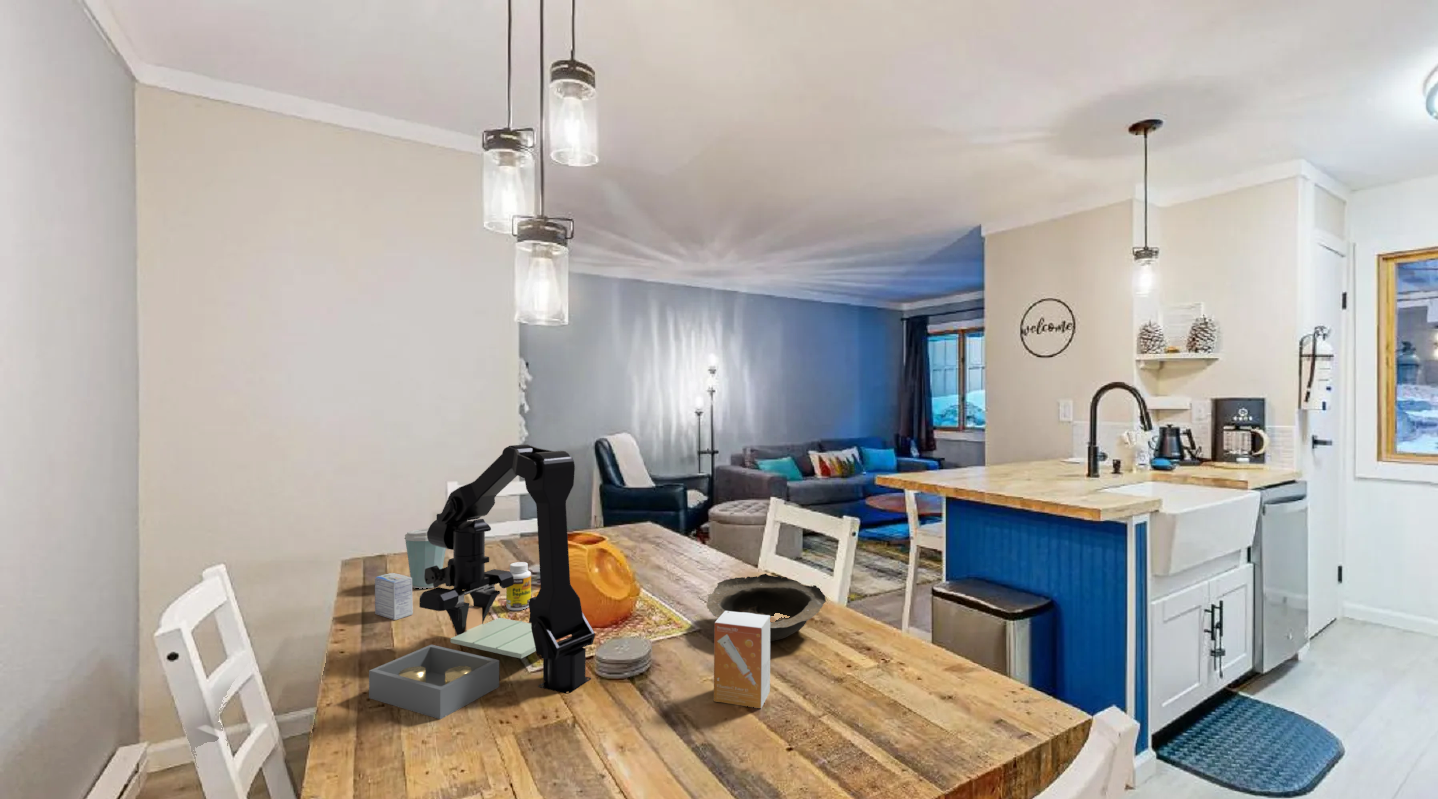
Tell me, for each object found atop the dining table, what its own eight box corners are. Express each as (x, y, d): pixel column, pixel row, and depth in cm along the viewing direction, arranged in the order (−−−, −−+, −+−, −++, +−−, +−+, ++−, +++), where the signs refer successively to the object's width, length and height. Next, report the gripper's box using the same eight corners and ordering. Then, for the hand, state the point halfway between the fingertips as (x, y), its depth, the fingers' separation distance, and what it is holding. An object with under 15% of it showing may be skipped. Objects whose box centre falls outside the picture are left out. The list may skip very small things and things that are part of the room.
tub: (499, 690, 106) (499, 660, 106) (440, 723, 95) (440, 689, 95) (431, 672, 113) (431, 644, 113) (369, 701, 102) (369, 670, 102)
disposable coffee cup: (394, 590, 161) (394, 531, 161) (421, 579, 171) (421, 524, 171) (432, 593, 159) (432, 533, 159) (457, 581, 169) (457, 525, 170)
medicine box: (413, 615, 143) (413, 577, 143) (393, 621, 139) (394, 581, 139) (393, 609, 147) (393, 572, 147) (374, 614, 143) (374, 576, 143)
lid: (566, 645, 121) (566, 613, 121) (521, 670, 110) (521, 635, 110) (486, 628, 130) (486, 599, 130) (437, 650, 119) (437, 618, 119)
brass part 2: (476, 689, 105) (476, 668, 105) (457, 700, 101) (457, 678, 101) (458, 685, 106) (459, 664, 106) (439, 695, 103) (439, 673, 103)
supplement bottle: (509, 613, 144) (509, 568, 144) (503, 606, 149) (503, 563, 149) (534, 608, 147) (534, 564, 147) (527, 602, 152) (527, 559, 152)
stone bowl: (791, 605, 149) (793, 567, 148) (844, 654, 125) (847, 609, 125) (691, 615, 141) (692, 575, 140) (727, 669, 117) (729, 620, 117)
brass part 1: (431, 690, 104) (431, 669, 104) (410, 700, 101) (410, 678, 101) (414, 685, 106) (414, 664, 106) (393, 695, 102) (393, 673, 102)
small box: (713, 702, 102) (713, 621, 102) (724, 685, 108) (724, 609, 108) (761, 710, 99) (762, 627, 99) (770, 692, 105) (771, 614, 105)
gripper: (475, 539, 135) (475, 612, 135) (398, 559, 119) (398, 642, 118) (515, 544, 131) (515, 619, 131) (441, 566, 114) (441, 652, 114)
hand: (469, 632), depth 124 cm, fingers closed on lid, 4 cm apart
